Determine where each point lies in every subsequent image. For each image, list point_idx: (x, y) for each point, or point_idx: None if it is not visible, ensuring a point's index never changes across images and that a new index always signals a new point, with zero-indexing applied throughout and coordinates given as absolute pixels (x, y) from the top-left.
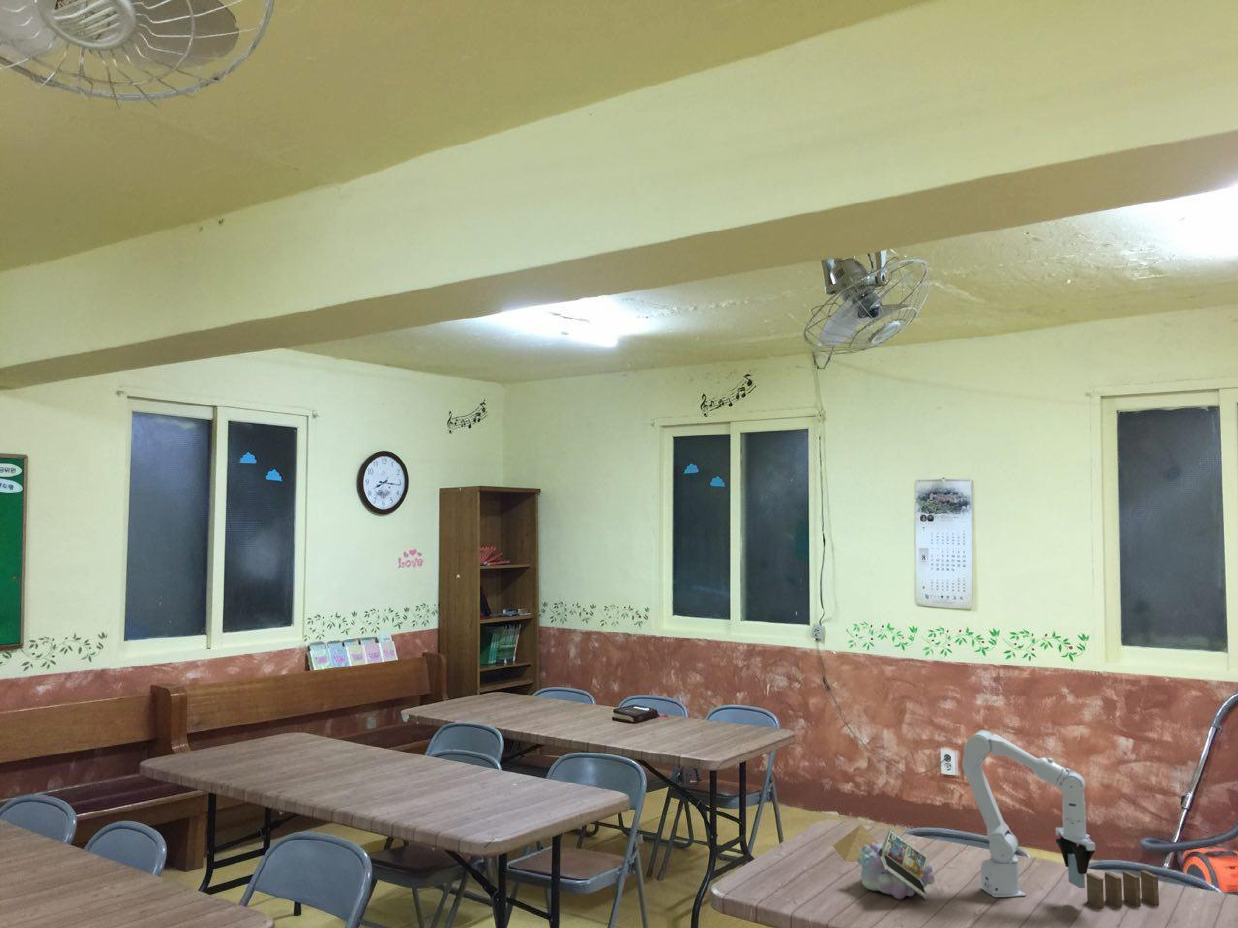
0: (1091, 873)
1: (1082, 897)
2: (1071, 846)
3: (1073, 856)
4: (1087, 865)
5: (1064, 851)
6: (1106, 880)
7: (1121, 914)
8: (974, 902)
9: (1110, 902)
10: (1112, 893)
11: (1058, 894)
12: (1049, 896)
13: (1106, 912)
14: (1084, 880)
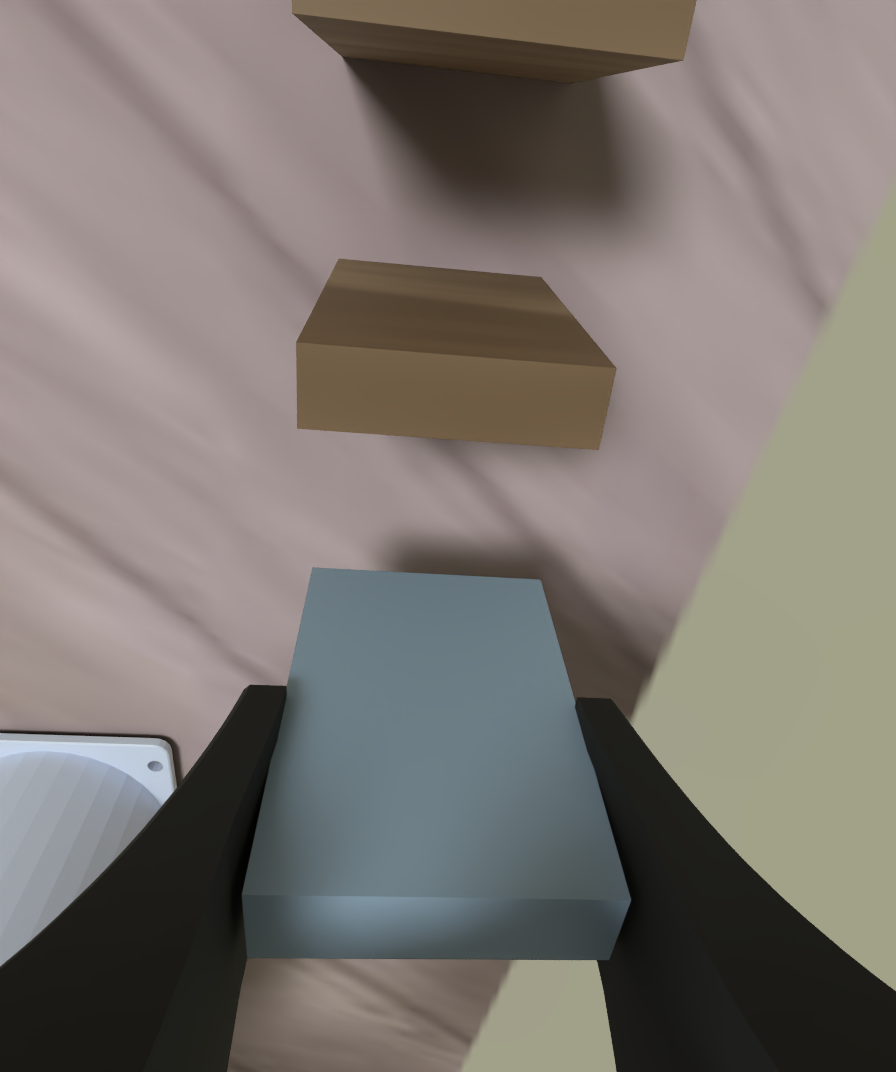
0: (323, 355)
1: (225, 291)
2: (192, 1060)
3: (427, 951)
4: (672, 794)
5: (228, 1031)
6: (357, 36)
7: (756, 234)
8: (258, 990)
9: (436, 67)
10: (493, 63)
11: (126, 475)
12: (178, 580)
13: (654, 352)
14: (554, 633)
